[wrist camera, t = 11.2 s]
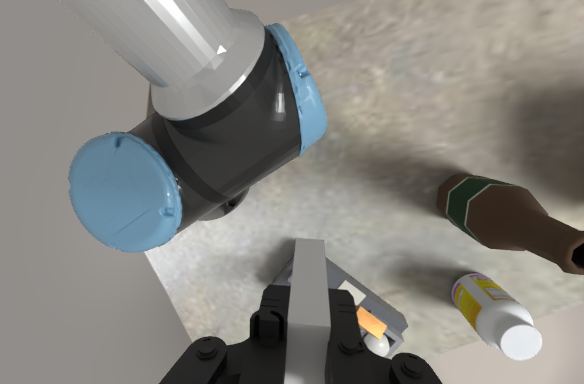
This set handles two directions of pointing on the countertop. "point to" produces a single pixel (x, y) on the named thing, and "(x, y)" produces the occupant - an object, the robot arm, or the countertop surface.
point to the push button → (377, 344)
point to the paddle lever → (370, 323)
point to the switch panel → (358, 301)
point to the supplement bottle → (496, 316)
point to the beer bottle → (510, 220)
